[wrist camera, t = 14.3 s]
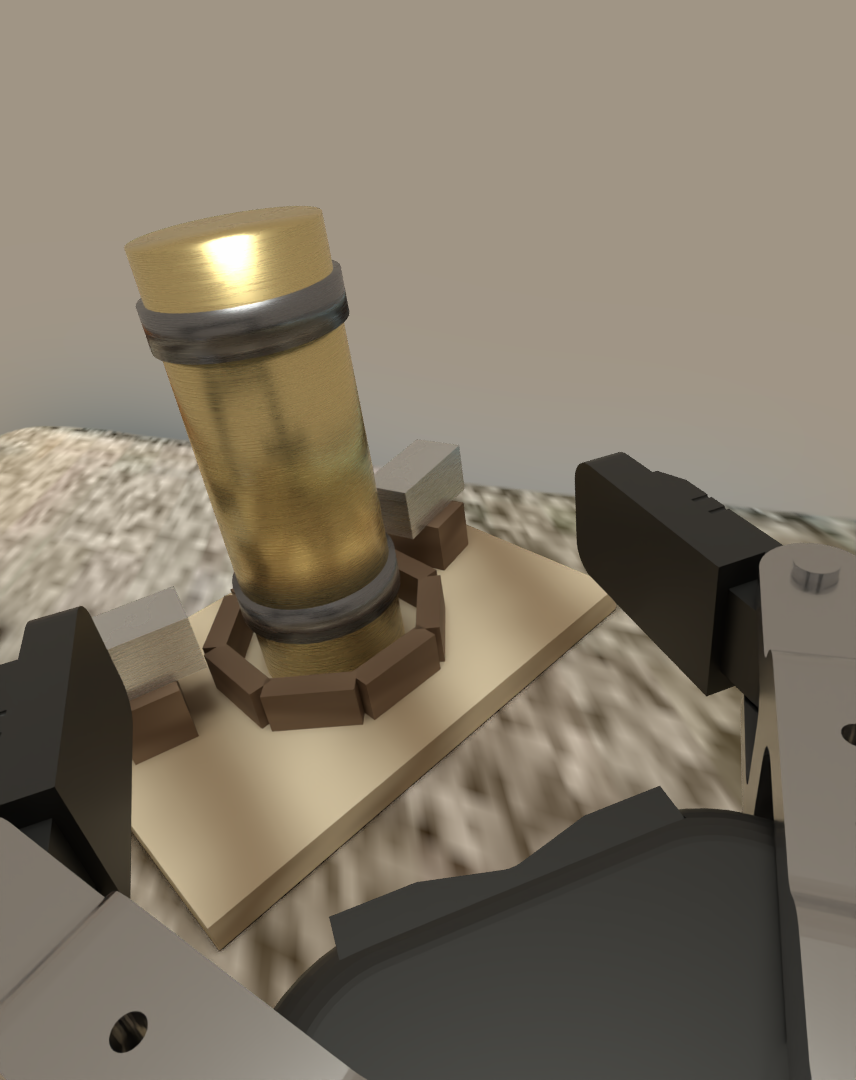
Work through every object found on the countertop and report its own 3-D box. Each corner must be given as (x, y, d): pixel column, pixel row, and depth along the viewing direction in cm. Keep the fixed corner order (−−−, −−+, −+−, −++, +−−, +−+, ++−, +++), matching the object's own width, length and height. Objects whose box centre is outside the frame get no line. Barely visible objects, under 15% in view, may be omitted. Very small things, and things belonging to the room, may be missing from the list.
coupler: (320, 725, 23) (178, 261, 16) (232, 653, 27) (82, 247, 19) (442, 634, 26) (372, 206, 18) (348, 581, 29) (257, 203, 22)
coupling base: (219, 950, 18) (181, 880, 17) (51, 722, 26) (15, 659, 25) (615, 608, 27) (616, 541, 26) (402, 514, 35) (392, 458, 34)
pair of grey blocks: (88, 741, 21) (60, 690, 20) (51, 694, 23) (24, 645, 22) (482, 495, 30) (478, 451, 29) (432, 477, 32) (426, 434, 31)
